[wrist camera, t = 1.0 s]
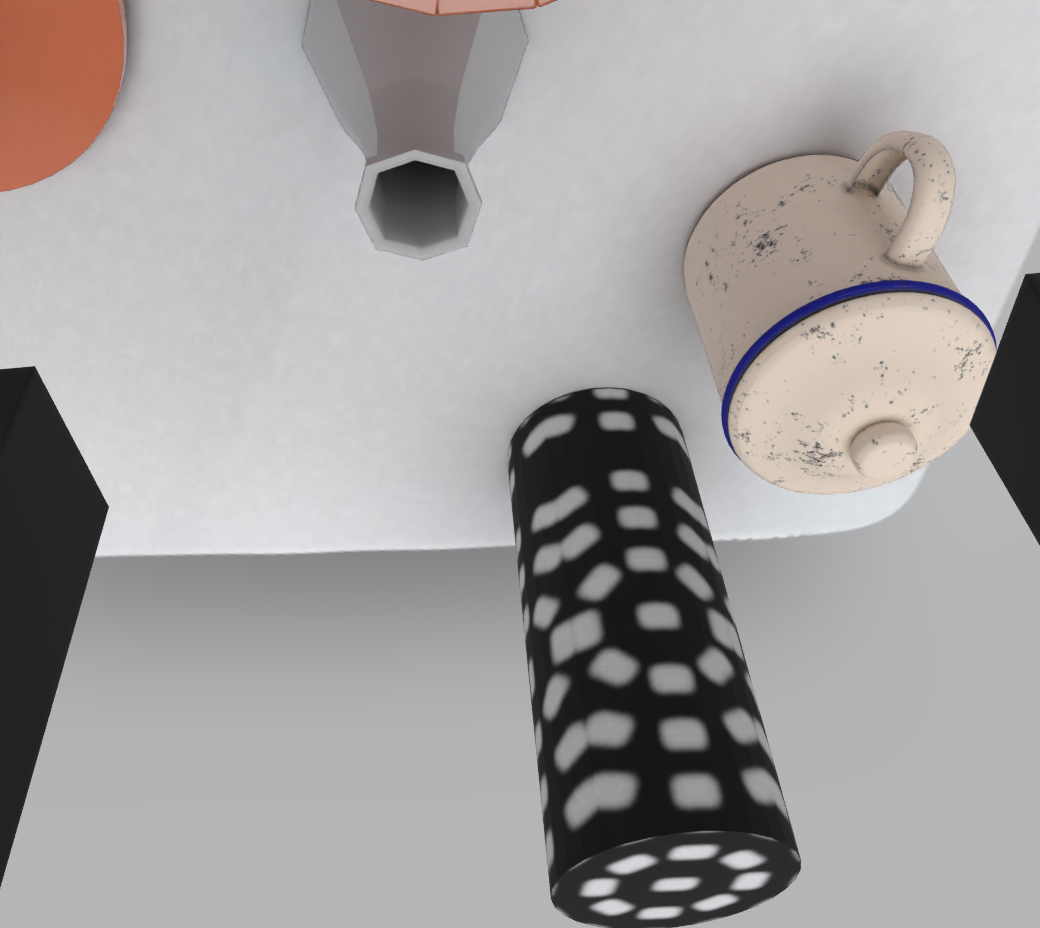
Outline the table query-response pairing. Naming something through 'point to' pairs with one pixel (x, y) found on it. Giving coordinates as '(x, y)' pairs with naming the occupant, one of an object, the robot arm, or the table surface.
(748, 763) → the white-spotted black cylinder
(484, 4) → the canister
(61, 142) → the lid
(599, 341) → the table surface
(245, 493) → the table surface
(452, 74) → the flask
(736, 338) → the teacup with lid
